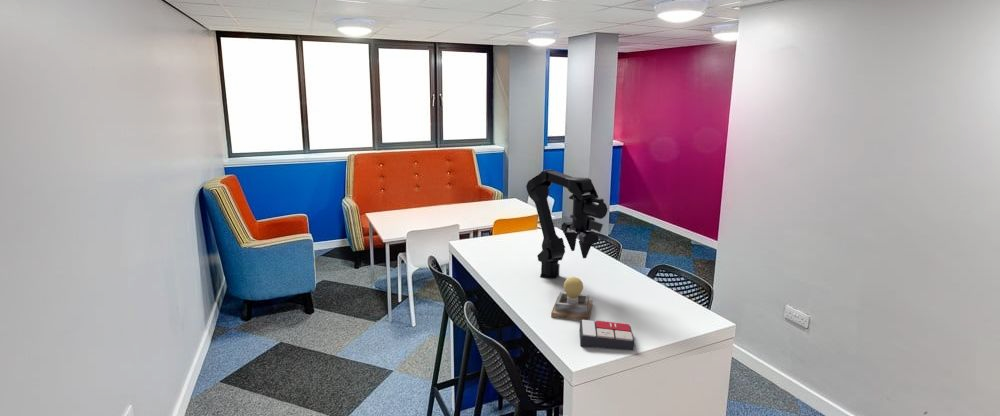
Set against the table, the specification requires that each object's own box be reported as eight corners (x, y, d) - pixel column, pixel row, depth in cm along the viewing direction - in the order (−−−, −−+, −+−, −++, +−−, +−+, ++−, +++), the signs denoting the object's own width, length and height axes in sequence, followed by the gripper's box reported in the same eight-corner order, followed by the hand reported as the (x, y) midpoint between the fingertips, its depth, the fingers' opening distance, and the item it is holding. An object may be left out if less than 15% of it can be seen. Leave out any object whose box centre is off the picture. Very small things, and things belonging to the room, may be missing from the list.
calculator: (635, 339, 145) (581, 333, 147) (633, 353, 146) (580, 347, 148) (630, 322, 156) (580, 317, 158) (628, 335, 157) (579, 330, 159)
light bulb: (583, 303, 174) (585, 275, 172) (580, 311, 168) (581, 282, 166) (565, 301, 176) (566, 273, 174) (560, 308, 170) (562, 279, 168)
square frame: (551, 316, 167) (551, 305, 166) (557, 300, 180) (558, 289, 179) (588, 321, 164) (589, 309, 163) (592, 304, 177) (593, 293, 176)
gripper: (613, 217, 180) (611, 260, 183) (588, 206, 197) (586, 245, 201) (585, 219, 176) (583, 263, 180) (561, 208, 194) (559, 247, 197)
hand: (578, 254), depth 189 cm, fingers open, 9 cm apart
